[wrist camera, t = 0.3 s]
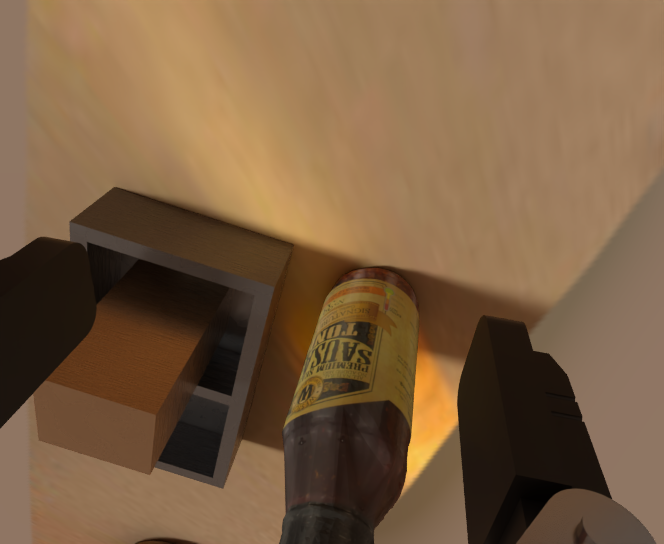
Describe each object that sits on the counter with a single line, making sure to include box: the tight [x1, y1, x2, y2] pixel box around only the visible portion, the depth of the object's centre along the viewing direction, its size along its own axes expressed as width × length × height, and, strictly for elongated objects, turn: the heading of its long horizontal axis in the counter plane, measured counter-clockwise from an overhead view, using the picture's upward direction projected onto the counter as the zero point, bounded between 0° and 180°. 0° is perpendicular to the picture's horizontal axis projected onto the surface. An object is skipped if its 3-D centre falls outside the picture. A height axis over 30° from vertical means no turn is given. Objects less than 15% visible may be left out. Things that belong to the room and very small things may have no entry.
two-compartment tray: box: [33, 187, 294, 488], centre depth 33 cm, size 21×12×13 cm, turn 165°
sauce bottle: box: [279, 268, 419, 544], centre depth 25 cm, size 6×6×20 cm
